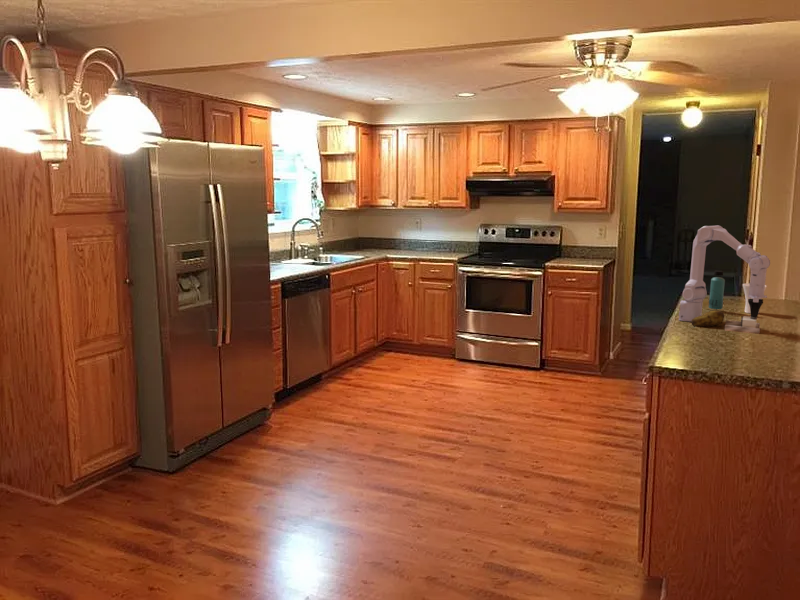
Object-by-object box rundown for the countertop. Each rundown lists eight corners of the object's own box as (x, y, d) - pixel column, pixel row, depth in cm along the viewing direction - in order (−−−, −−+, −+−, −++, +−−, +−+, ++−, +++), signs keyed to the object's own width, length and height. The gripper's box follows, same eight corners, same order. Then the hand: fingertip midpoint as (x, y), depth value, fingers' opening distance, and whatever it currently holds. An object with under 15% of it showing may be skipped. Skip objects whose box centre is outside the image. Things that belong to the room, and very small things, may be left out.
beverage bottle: (721, 310, 331) (725, 270, 327) (723, 312, 325) (727, 271, 321) (707, 309, 333) (710, 269, 330) (708, 311, 327) (712, 271, 323)
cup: (763, 315, 319) (766, 287, 317) (738, 313, 324) (741, 285, 322) (764, 311, 328) (767, 284, 325) (740, 309, 333) (743, 282, 331)
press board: (724, 332, 282) (724, 325, 281) (725, 326, 294) (726, 319, 293) (759, 336, 276) (759, 329, 275) (759, 329, 288) (759, 322, 287)
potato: (690, 324, 297) (692, 307, 296) (722, 327, 292) (724, 309, 291) (691, 328, 290) (692, 310, 288) (723, 331, 285) (725, 312, 283)
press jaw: (740, 330, 281) (742, 310, 280) (740, 326, 289) (742, 306, 287) (755, 331, 278) (757, 311, 277) (755, 327, 286) (757, 307, 285)
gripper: (768, 287, 271) (764, 320, 274) (767, 283, 284) (764, 314, 286) (748, 286, 275) (745, 318, 277) (749, 281, 287) (746, 312, 290)
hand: (754, 316), depth 282 cm, fingers closed on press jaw, 2 cm apart
